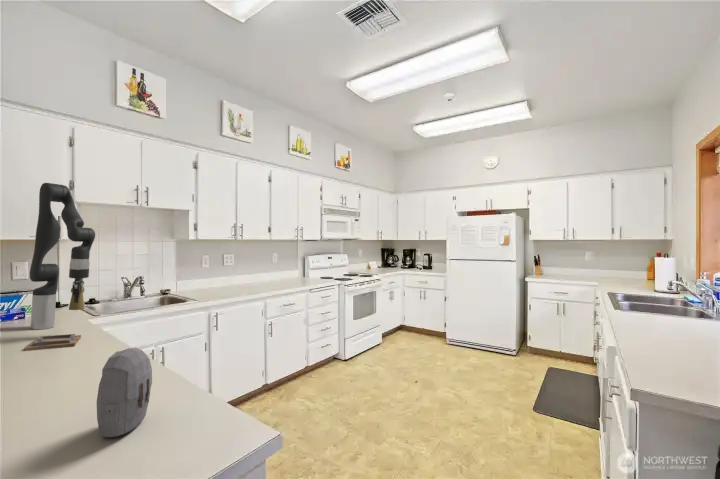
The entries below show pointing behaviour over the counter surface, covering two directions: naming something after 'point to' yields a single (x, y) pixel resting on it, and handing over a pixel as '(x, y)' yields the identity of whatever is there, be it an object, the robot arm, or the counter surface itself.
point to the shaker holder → (53, 342)
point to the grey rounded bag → (123, 392)
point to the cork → (80, 301)
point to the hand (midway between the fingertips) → (77, 303)
